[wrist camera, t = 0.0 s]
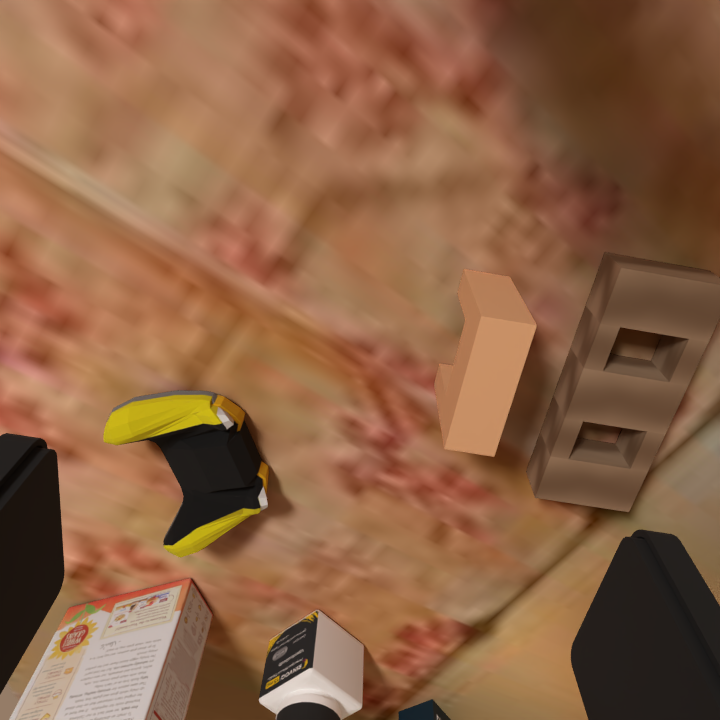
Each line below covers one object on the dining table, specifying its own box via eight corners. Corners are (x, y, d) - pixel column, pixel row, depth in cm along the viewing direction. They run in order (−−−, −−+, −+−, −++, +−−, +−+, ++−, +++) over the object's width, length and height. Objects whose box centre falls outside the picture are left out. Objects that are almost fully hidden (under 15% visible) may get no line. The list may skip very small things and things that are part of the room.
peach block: (463, 268, 46) (481, 316, 38) (509, 276, 46) (536, 325, 38) (434, 384, 51) (444, 448, 43) (476, 391, 51) (494, 456, 43)
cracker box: (97, 643, 66) (-15, 879, 47) (68, 604, 63) (-62, 837, 45) (218, 616, 64) (151, 854, 45) (193, 575, 61) (111, 808, 43)
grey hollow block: (604, 252, 45) (621, 267, 42) (709, 270, 46) (734, 287, 43) (526, 471, 54) (535, 497, 51) (614, 485, 55) (629, 512, 52)
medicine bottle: (318, 606, 63) (305, 723, 52) (365, 644, 65) (362, 762, 54) (268, 638, 65) (246, 756, 54) (315, 673, 67) (304, 792, 57)
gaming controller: (186, 524, 58) (287, 502, 57) (169, 568, 54) (278, 546, 52) (114, 389, 52) (226, 361, 51) (87, 426, 47) (209, 395, 46)
